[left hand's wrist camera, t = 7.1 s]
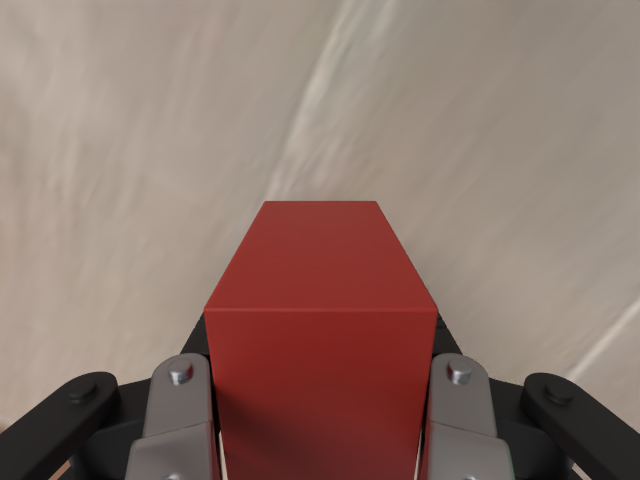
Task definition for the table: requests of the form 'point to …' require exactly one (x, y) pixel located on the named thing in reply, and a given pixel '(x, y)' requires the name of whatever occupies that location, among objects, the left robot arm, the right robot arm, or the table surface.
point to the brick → (320, 346)
